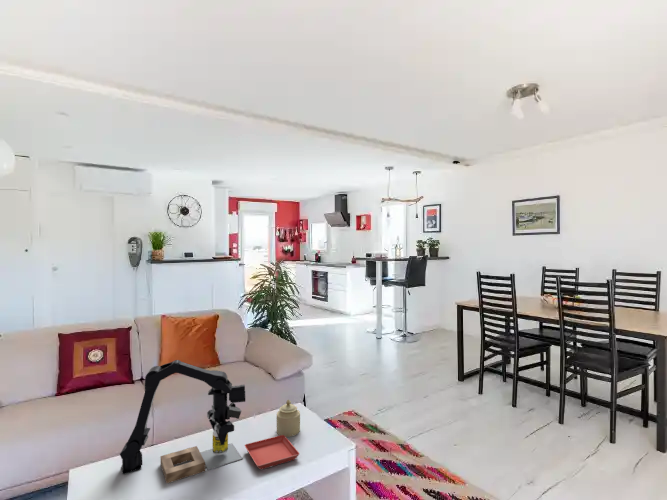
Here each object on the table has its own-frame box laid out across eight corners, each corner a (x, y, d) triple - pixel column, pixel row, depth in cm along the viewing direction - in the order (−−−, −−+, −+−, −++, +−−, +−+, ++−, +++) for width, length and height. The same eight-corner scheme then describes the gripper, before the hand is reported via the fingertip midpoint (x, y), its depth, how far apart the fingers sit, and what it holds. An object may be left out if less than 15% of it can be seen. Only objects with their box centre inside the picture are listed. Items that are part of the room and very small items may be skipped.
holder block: (166, 483, 141) (166, 474, 141) (160, 464, 152) (160, 456, 152) (205, 471, 148) (205, 462, 148) (196, 454, 160) (196, 445, 160)
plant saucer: (283, 441, 171) (283, 433, 171) (300, 461, 155) (300, 453, 155) (244, 452, 162) (243, 444, 162) (257, 474, 146) (257, 466, 146)
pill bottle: (214, 457, 154) (213, 430, 154) (211, 449, 160) (211, 423, 159) (229, 453, 157) (229, 426, 157) (226, 446, 162) (226, 420, 162)
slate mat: (207, 470, 149) (207, 469, 149) (199, 453, 160) (199, 452, 160) (242, 459, 156) (242, 458, 156) (232, 443, 168) (232, 443, 168)
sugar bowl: (269, 425, 184) (269, 395, 184) (290, 420, 190) (290, 390, 190) (282, 439, 172) (282, 406, 172) (304, 432, 178) (304, 400, 177)
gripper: (246, 407, 154) (246, 445, 155) (232, 392, 170) (232, 426, 170) (219, 414, 148) (219, 453, 149) (206, 397, 164) (206, 433, 164)
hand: (220, 440), depth 158 cm, fingers closed on pill bottle, 6 cm apart
